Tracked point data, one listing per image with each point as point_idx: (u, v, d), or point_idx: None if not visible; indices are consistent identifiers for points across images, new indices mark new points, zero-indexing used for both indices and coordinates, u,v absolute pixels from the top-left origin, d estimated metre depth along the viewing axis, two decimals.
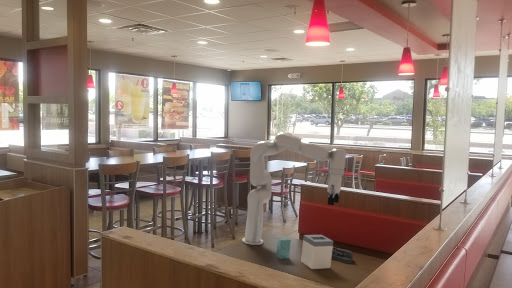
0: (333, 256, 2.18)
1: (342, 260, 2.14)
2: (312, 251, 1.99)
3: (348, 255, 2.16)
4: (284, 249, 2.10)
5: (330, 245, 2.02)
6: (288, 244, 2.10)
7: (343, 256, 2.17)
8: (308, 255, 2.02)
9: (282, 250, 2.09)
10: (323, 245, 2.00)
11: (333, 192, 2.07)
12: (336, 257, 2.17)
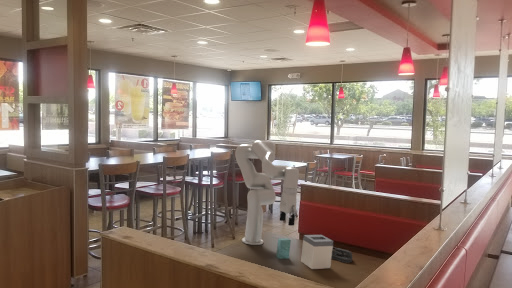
0: (332, 256, 2.18)
1: (341, 260, 2.15)
2: (312, 251, 1.99)
3: (347, 255, 2.16)
4: (284, 249, 2.10)
5: (330, 245, 2.02)
6: (288, 244, 2.10)
7: (342, 256, 2.17)
8: (308, 255, 2.02)
9: (282, 250, 2.09)
10: (323, 245, 2.00)
11: (293, 212, 2.06)
12: (335, 257, 2.17)
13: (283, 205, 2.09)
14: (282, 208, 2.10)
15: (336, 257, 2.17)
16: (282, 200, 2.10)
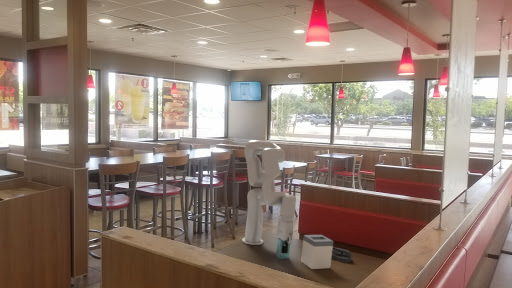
0: (332, 255, 2.18)
1: (340, 259, 2.15)
2: (312, 251, 1.99)
3: (346, 255, 2.17)
4: None
5: (330, 245, 2.02)
6: None
7: (341, 256, 2.18)
8: (308, 255, 2.02)
9: (281, 249, 2.09)
10: (323, 245, 2.00)
11: (288, 241, 2.08)
12: (334, 256, 2.17)
13: (280, 232, 2.10)
14: (279, 235, 2.10)
15: (335, 257, 2.17)
16: (279, 227, 2.11)
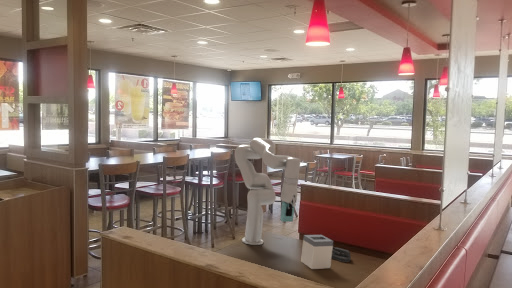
0: None
1: (339, 259, 2.15)
2: (312, 251, 1.99)
3: (345, 254, 2.17)
4: None
5: (330, 245, 2.02)
6: None
7: (341, 255, 2.18)
8: (308, 255, 2.02)
9: None
10: (323, 245, 2.00)
11: None
12: (333, 256, 2.18)
13: (284, 195, 2.09)
14: (283, 198, 2.09)
15: (334, 256, 2.17)
16: (283, 190, 2.10)
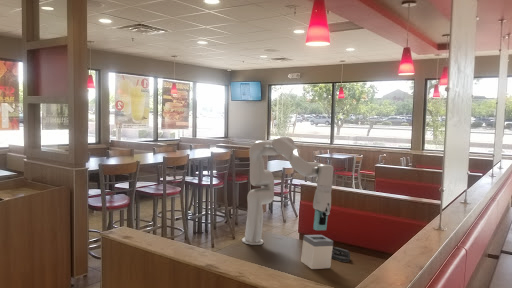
0: None
1: (339, 259, 2.16)
2: (312, 251, 1.99)
3: (345, 254, 2.17)
4: None
5: (330, 245, 2.02)
6: None
7: (340, 255, 2.18)
8: (308, 255, 2.02)
9: (319, 221, 2.02)
10: (323, 245, 2.00)
11: (326, 212, 2.02)
12: (333, 256, 2.18)
13: (317, 203, 2.03)
14: (316, 206, 2.04)
15: (334, 256, 2.18)
16: (316, 198, 2.04)
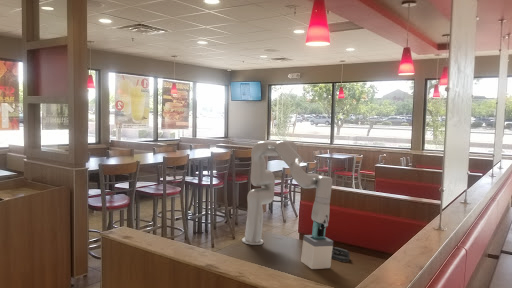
0: None
1: (338, 259, 2.16)
2: (312, 251, 1.99)
3: (344, 254, 2.17)
4: None
5: (330, 245, 2.02)
6: None
7: (340, 255, 2.18)
8: (308, 255, 2.02)
9: (317, 232, 2.03)
10: (323, 245, 2.00)
11: (324, 223, 2.02)
12: (332, 256, 2.18)
13: (315, 215, 2.03)
14: (314, 218, 2.04)
15: (333, 256, 2.18)
16: (314, 209, 2.05)
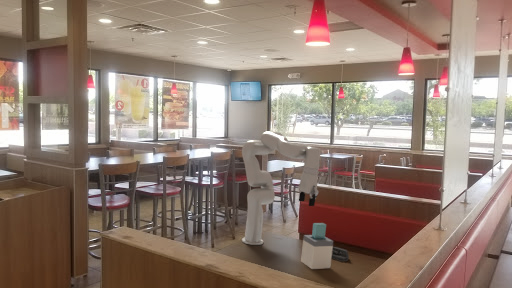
0: None
1: (337, 258, 2.16)
2: (312, 251, 1.99)
3: (343, 254, 2.18)
4: (320, 234, 2.03)
5: (330, 245, 2.02)
6: (324, 229, 2.04)
7: (338, 255, 2.19)
8: (308, 255, 2.02)
9: (317, 234, 2.03)
10: (323, 245, 2.00)
11: (313, 192, 2.02)
12: None
13: (303, 185, 2.04)
14: (302, 188, 2.05)
15: (332, 256, 2.18)
16: (302, 180, 2.06)
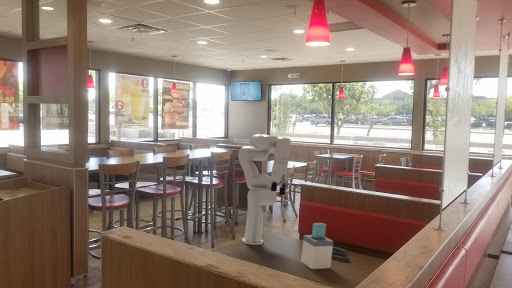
0: None
1: (336, 258, 2.16)
2: (312, 251, 1.99)
3: (342, 253, 2.18)
4: (320, 234, 2.03)
5: (330, 245, 2.02)
6: (324, 229, 2.04)
7: (338, 254, 2.19)
8: (308, 255, 2.02)
9: (317, 234, 2.03)
10: (323, 245, 2.00)
11: (284, 182, 2.05)
12: None
13: (274, 175, 2.08)
14: (273, 178, 2.08)
15: None
16: (273, 170, 2.09)
